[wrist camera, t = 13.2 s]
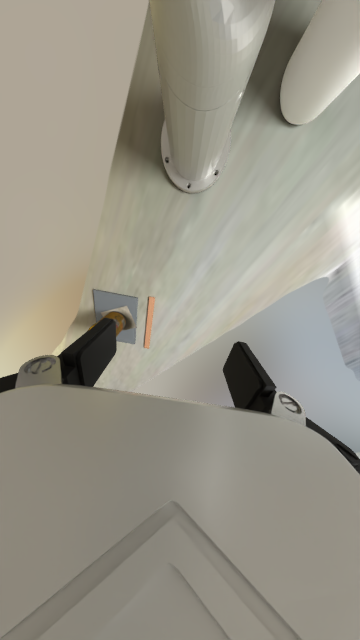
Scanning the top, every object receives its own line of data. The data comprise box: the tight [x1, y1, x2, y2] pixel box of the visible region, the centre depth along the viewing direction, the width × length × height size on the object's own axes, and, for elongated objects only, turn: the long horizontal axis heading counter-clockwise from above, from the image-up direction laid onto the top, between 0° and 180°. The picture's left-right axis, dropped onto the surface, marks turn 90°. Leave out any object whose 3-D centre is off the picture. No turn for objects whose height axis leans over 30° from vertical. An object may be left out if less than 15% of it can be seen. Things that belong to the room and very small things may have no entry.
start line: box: [144, 297, 155, 349], centre depth 42 cm, size 18×2×1 cm, turn 169°
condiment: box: [89, 306, 137, 337], centre depth 36 cm, size 7×8×12 cm
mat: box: [93, 289, 138, 344], centre depth 41 cm, size 16×12×1 cm
